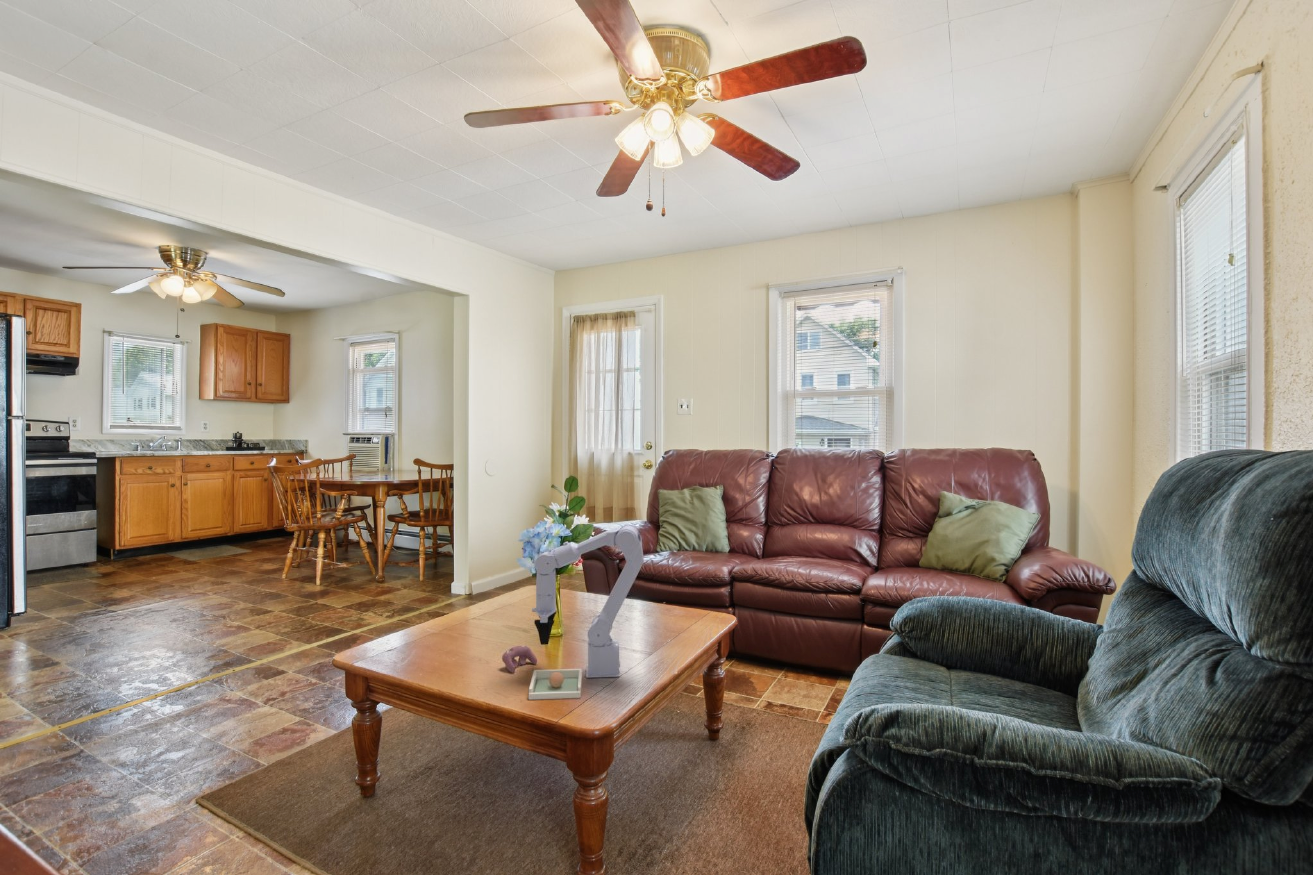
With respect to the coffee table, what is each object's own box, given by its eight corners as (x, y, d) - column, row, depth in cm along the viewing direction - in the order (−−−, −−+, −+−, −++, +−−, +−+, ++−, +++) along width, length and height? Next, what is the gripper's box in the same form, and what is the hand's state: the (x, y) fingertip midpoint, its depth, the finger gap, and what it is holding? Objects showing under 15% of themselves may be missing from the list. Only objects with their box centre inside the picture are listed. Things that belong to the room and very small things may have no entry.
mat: (577, 679, 174) (577, 677, 174) (576, 696, 162) (576, 695, 162) (537, 680, 173) (537, 679, 173) (533, 697, 161) (533, 696, 161)
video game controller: (530, 666, 187) (524, 643, 189) (539, 663, 185) (532, 640, 186) (504, 676, 179) (497, 652, 181) (513, 672, 177) (506, 649, 179)
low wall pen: (581, 677, 175) (582, 668, 175) (580, 697, 162) (580, 688, 161) (534, 678, 174) (534, 670, 174) (528, 699, 160) (528, 690, 160)
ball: (564, 683, 170) (563, 669, 170) (563, 689, 166) (563, 675, 166) (549, 684, 169) (549, 670, 169) (548, 690, 165) (548, 675, 165)
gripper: (534, 587, 186) (534, 631, 186) (529, 600, 171) (529, 648, 172) (558, 587, 187) (557, 631, 187) (554, 600, 172) (554, 647, 172)
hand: (545, 639), depth 179 cm, fingers open, 7 cm apart
